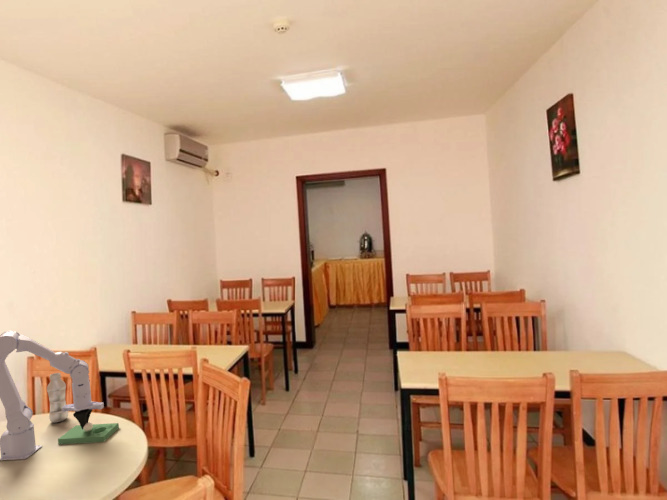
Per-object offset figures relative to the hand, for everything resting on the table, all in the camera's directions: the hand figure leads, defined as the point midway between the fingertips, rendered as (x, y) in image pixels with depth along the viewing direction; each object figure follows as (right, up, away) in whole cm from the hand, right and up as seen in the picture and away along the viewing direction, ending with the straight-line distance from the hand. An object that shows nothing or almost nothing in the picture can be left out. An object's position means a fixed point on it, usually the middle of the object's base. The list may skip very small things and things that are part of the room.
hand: (85, 428), depth 148 cm
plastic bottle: (-20, -4, +14) cm, 25 cm away
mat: (+2, -3, 0) cm, 3 cm away
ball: (+1, 0, 0) cm, 1 cm away
